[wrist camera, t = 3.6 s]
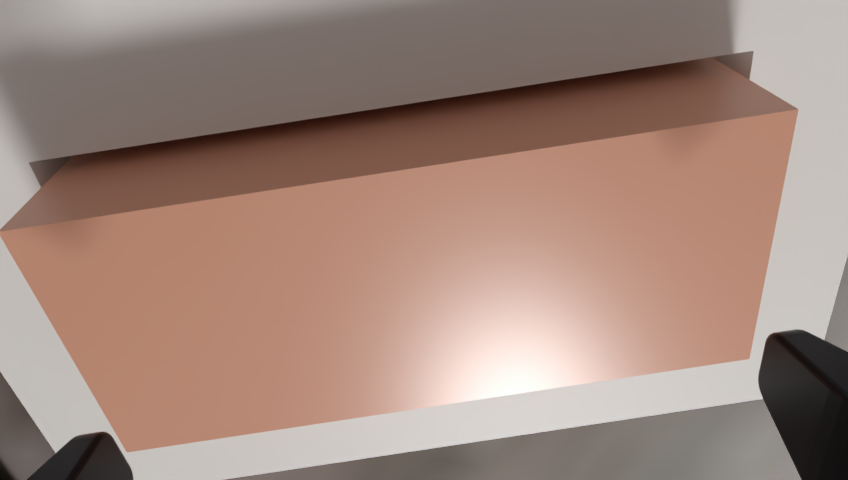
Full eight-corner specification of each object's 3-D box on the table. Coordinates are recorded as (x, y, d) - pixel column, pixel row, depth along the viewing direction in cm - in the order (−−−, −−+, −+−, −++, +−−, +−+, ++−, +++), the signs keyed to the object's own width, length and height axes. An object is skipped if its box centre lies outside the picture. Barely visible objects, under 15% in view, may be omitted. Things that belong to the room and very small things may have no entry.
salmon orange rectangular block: (180, 320, 15) (126, 452, 12) (97, 130, 13) (-3, 231, 9) (665, 246, 15) (749, 359, 12) (683, 39, 13) (798, 109, 9)
